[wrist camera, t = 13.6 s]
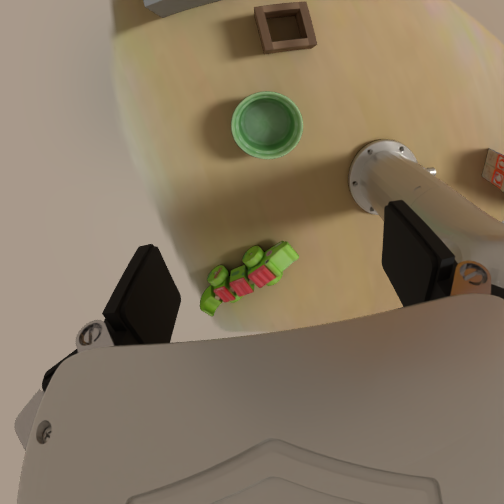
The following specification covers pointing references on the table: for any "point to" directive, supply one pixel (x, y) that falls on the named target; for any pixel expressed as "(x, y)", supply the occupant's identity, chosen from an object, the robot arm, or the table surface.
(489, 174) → the stack of blocks
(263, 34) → the brown open box
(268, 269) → the toy crocodile
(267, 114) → the ramekin
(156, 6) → the grey hollow box
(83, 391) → the robot arm
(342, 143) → the table surface
